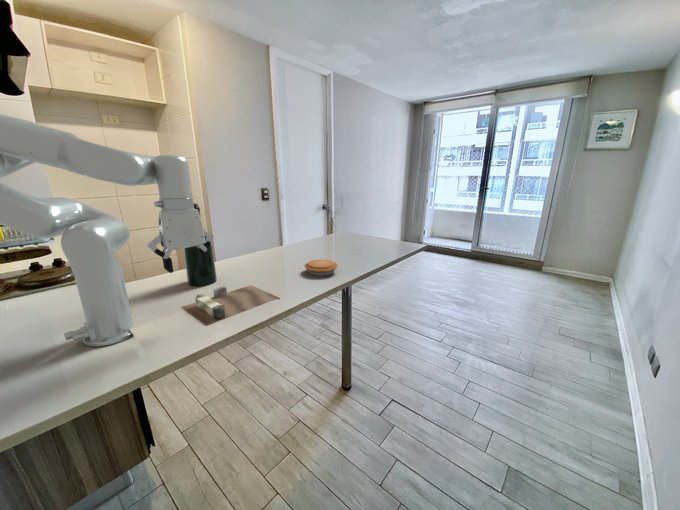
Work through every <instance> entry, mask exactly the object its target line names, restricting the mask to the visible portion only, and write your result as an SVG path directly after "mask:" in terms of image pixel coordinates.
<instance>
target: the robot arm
mask: <svg viewBox="0 0 680 510" xmlns="http://www.w3.org/2000/svg"><path fill="white" fill-rule="evenodd" d="M34 163H37V164H42V165H45V166H50V167H53V168H57V169H62V170H66V171H68V172H70V173H75V174H77V175H81V176H84V177H87V178H91V179H96V180H98V181H99V180H100V181H104V182H108V183H112V184H116V185H122V186H128V187H132V186H149V185H156V184H157V189H158V194H159V195H158V196H159V199H158V200H157V201H153V205H154V207H155V208H160V210H159V212H158V235H156V236H155V237H154V238H153V239H151V241H149V242H148V243H147V244H146V247H147V248H149V249H150V251H152V252H153V253H154V254H155V255H157V256H160V257H161V258H162V265H163V269H164V270H165V271H166V272H168V273H170V274H171V273H174V267H173V260H172V258H171V257H170V256H171V254H172V252H173V251H176V250H183V249H184V248H189V247H194V246H196V247H197V248H198V249H199V250H198V251H197V254H198V262H199V264H201V265H206V262H205V261H207V260H206V251H207V248H208V247H209V246H210V244H211V245H212V241H213V240H214V237H215V236H214V235H213V234H212V233H210V232H208V231H205V229H204V230H203V228H204V226H203V223H202V218H200V216H201V214H200V215H199V212H198V209H194V204H193V203H194V197H193V191H192V182H191V176H190V173H191V172H190V166H189V162H188V159H187V158H186V157H184V156H181V155H176V154H175V155H172V154H171V155H169V154H160V155H156V156H153V155H146V154H142V153H135V152H131V151H126V150H121V149H117V148H114V147H113V148H112V147H109V146H105V145H101V144H99V143H98V144H97V143H93V142H90V141H88V140H85V139H82V138H80V137H78V136H77V135H76V134H74V133H71V132H68V131H65V130H60V129H57V128H53V127H49V126H46V125H41V124H38V123H35V122H33V121H30V120H27V119H22V118H18V117H14V116H9V115H5V114H0V178H3V177H6V176H9V175H12V174H13V173H15V172H16V173H17V172H18V171H20V170H22V169H23V168H24V169H25V168H26V167H28V166H30V165H33V164H34ZM0 225H1V226H3V227H6V228H8V229H11V230H14V231H16V232H20V233H22V234H23V235H27V236H30V237H33V238H35V239H50V238H56V237H59V236H61V237H60V247H61V250H62V251H63V254H64V255H65V258H66V259H67V262H68V264H69V266H70V268H71V270H72V274H73V277H74V281H75V284H76V288H77V292H78V295H79V299H80V303H81V306H82V311H83V314H84V318H85V322H83V325H84V326H80V327H79V329H75V330H70V331H67V332H64V333H63V336H64V338H65V341H69V340H72V342H75V341H79V340H81V339H82V342H83V344H84V345H85V346H88V347H104V346H108V345H113V344H117V343H119V342H122V341H125V340H127V339H129V338H131V337H133V336H134V334H133V333H132V332H131V329H132V328H133V327H134V321H133V315H132V311H131V308H130V307H131V306H130V302H129V298H128V292H127V287H126V282H125V277H124V273H123V271H122V266H121V264H120V262H119V260H118V259H117V257H116V255H115V252H116V251H117V250H119V249H122V248H123V247H124V246H125V245H126V244H128V242H129V241H130V240H131V239H130V238H131V231H130V229H129V227H128V225H127V224H126V223H125V222H124V221H122V220H121V219H119V218H117V217H115V216H113V215H111V214H109V213H107V212H104V211H101V210H99V209H97V208H95V207H92V206H91V205H88V204H86V203H83V202H81V201H79V200H76V199H73V198H69V197H68V198H67V197H59V196H57V197H38V196H33V195H30V194H27V193H25V192H22V191H20V190H18V189H16V188H13V187H11V186H8V185H6V184H2V183H0ZM205 236H206V241H205ZM158 244H160V246H161V247H162V250H160V249H159V248H158V247H157V245H158Z"/></svg>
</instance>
